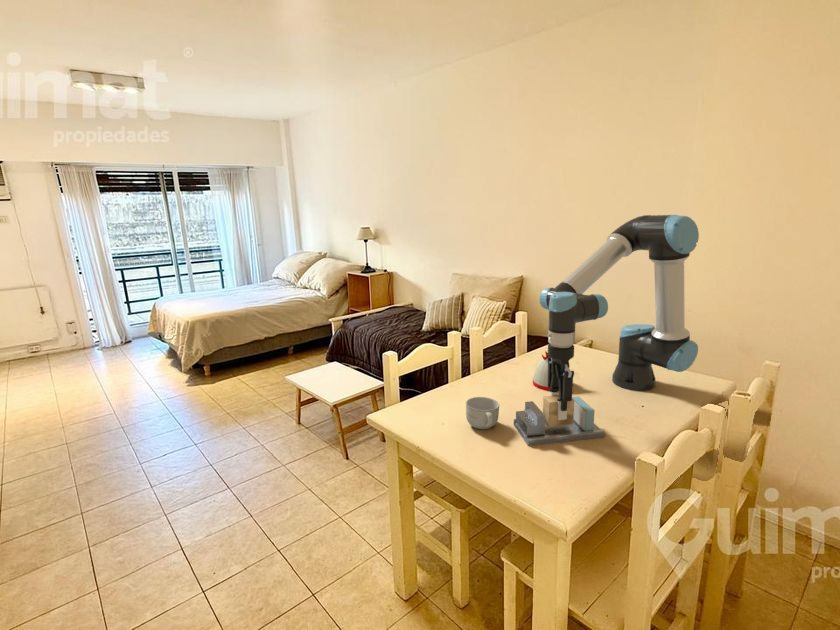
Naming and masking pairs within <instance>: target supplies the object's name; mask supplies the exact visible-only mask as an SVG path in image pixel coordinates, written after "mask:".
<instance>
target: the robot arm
mask: <svg viewBox="0 0 840 630" xmlns="http://www.w3.org/2000/svg"><path fill="white" fill-rule="evenodd" d="M699 238H700V234H699V228H698V225H697V223H696V222H695V220H693V219H692V218H691V217H690V216H687V215H677V214H664V215H663V214H661V215H660V214H659V215H658V214H657V215H655V214H654V215H651V214H648V215H647V214H645V215H641V216H640V215H639V216H636V217H635V218H633V219H630V220H628V221H626V222H624V223H622V224H621V225H620V226H619V227H617V228H615V230H613V231H612V232H611V233H610V234H609V235H608V236H607V237H606V241H605V242H604V243H603V244H602V245H601V246H600V247H599V248H597V249H596V250H595V252H593V253H592V254H591V255H590V256H588V258H586V259H585V260H584V261H583V262H582V263H581V264H580V265H579V266H578V267H576V268H575V269H574V270H573V271H572V272H570V274H568V276H566V277H565V278H564V279H563V280H562V281H561V282H559V283H558V285H556V286H555V287H546V288H544V289H543V290H542V291H541V292H540V294H539V296H538V297H539V298H538V301H539V304H540V306H541V307H542V308H543V309H544V310H546V311H548V334H547V338H548V340H547V342H548V344H547V353H548V356H549V357H548V359H547V360H548V388H549V387H550V391H549V392H550V396H553V395H559V398H560V399H557V401H558V412H557V419H558V420H565V419H567V401H572V397H573V385H574V377H575V370H571V369H570V360H571V359H573V358H574V357H575V339H576V323H577V324H578V323H582V322H588V321H596V320H598V319H601V318H603V317H605V316H606V315H607V313H608V310H609V302H608V300H607V299H606V297H605V296H604V295H602V294H599V293H596V294H594V293H592V294H585V292H586V291H588V289H590V288H591V286H593V285H594V284H595V283H596V282H598V280H600V278H602V276H604V275H605V274H606V273H607V272H608V271H609V270H610V269H612V268H613V266H615V264H617V263H618V262H619V261H620V260H622V258H627V257H629V256H630V255H631V254H632V253H634V252H636V251H648V259H649V260H650V261H651V262H652V263H653V265H654V266H653V268H654V293H655V294H654V299H655V300H654V301H655V304H654V305H655V326H654V325H652V324H645V323H637V324H628V325H627V324H626V325H624V326H622V327H621V329H620V334H619V340H618V341H619V342H618V343H619V344H618V361H617V364H616V365H615V369H614V371H613V373H612V375H611V376H612V377H611V381H612V383H613V384H614V385H615V386H617V387H621V388H624V389H627V390H633V391H648V390H652V389H654V388H655V387H656V376H655V373H654V370H653V365H654V366H658V367H660V368H664V369H667V370H668V371H673V372H676V373H682V372H685V371H687V370H688V369H690V368H691V366H692V365H693V364H694V362H695V361H696V358H697V356H698V353H699V345H698V344H697V343H696V342H695V341H694V340H691V339H690V338H691V336H690V331H689V330H688V329H687V328H686V327H685V261H686V260H687V259H688V258H689V257H690V255H691V253H692V252H693V251H695V249H696V247H697V244H698V243H699V242H698V241H699Z"/></svg>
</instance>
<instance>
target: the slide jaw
mask: <svg viewBox="0 0 840 630" xmlns="http://www.w3.org/2000/svg"><path fill="white" fill-rule="evenodd" d="M572 399H574V400H575V401H574V417H573V420H574V421H575V422H576V423H577V424H578V425H579V426H580V427H581V428H582V429H583V430H584V431H585V432H586V431H593V429H594V424H595V411H596V410H595V409H594V407H593V408H592V406H590V405H589V404H588V403H587V402H586V401H585V400H584V399H583V398H581V397H580V396H579V395H578V396H572Z"/></svg>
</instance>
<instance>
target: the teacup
mask: <svg viewBox="0 0 840 630" xmlns="http://www.w3.org/2000/svg"><path fill="white" fill-rule="evenodd" d="M499 411H500V402H499V401H497V399H494V398H491V397H486V396H474V397H471V398H468V399H467V400H466V401H465V417H466V421H467V423H468V424H470V425H471V426H472V427H473V428H474V429H478V430H488V429H489V430H490V429H491V428H492V427H494V426H496V425H497V423H498V420H499V414H500V413H499Z"/></svg>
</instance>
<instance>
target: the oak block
mask: <svg viewBox="0 0 840 630" xmlns="http://www.w3.org/2000/svg"><path fill="white" fill-rule="evenodd" d="M557 399H560V398H559V395H553V396H551V395H543V400H542V412H543V414H544V415H545V423H546V424H547V426H559V425H570V424H573V417H574V401H575V400H574V399H572V401H567V419H565V420H558V419H557V412H558V401H557Z"/></svg>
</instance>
